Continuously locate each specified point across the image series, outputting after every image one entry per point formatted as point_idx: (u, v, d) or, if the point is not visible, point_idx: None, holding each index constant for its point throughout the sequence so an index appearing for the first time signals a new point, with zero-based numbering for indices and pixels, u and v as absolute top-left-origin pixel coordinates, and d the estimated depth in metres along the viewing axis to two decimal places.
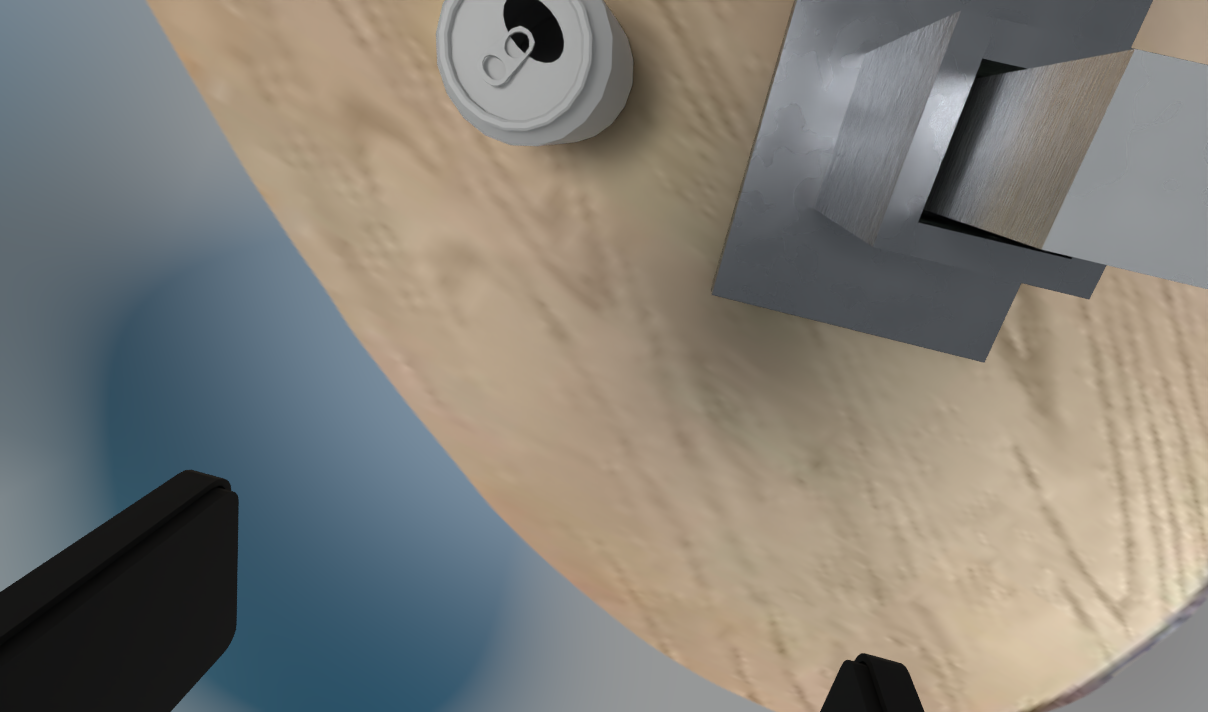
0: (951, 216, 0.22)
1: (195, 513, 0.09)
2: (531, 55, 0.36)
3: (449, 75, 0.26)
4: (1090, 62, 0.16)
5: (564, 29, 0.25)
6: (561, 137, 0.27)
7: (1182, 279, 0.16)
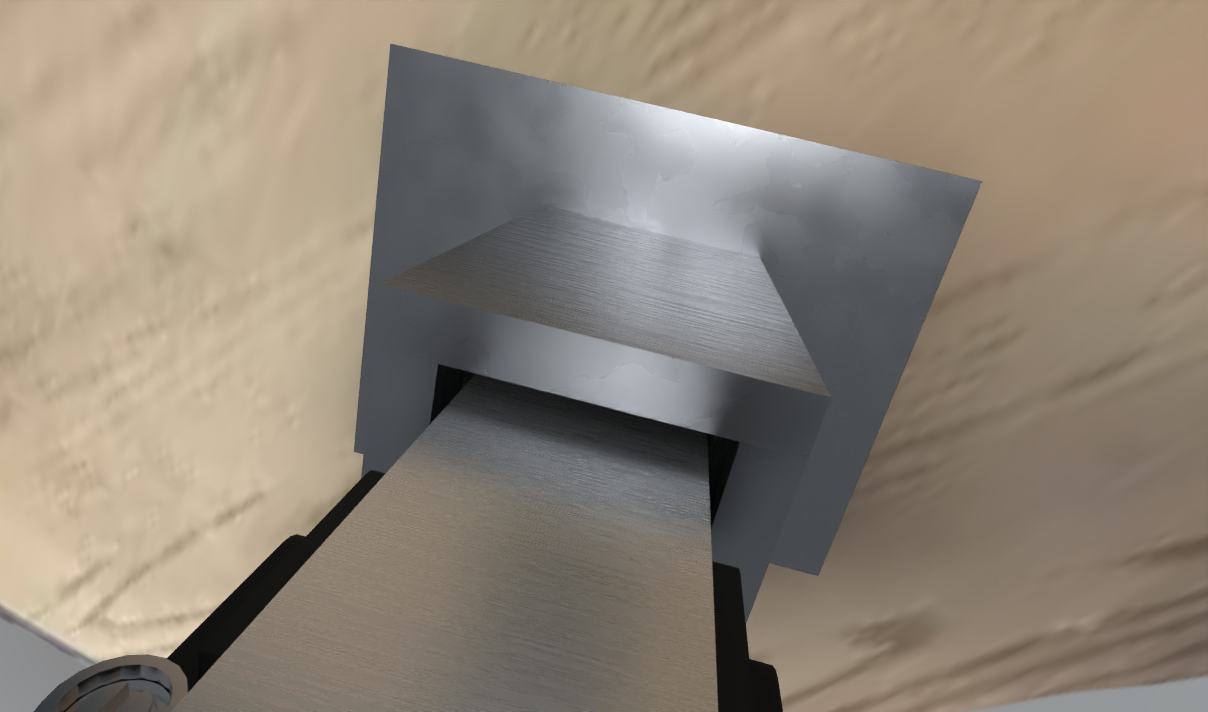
0: (430, 428, 0.10)
1: None
2: None
3: None
4: None
5: None
6: None
7: None
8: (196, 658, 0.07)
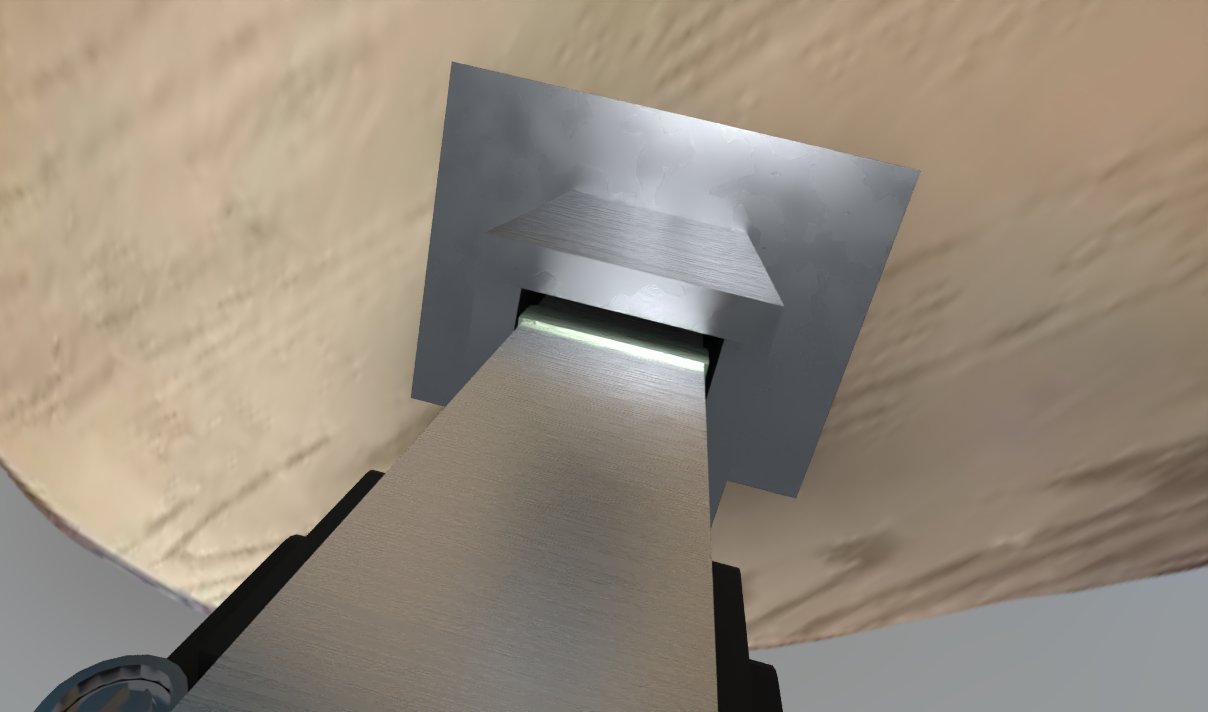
0: (430, 428, 0.10)
1: None
2: None
3: None
4: None
5: None
6: None
7: None
8: (196, 658, 0.07)
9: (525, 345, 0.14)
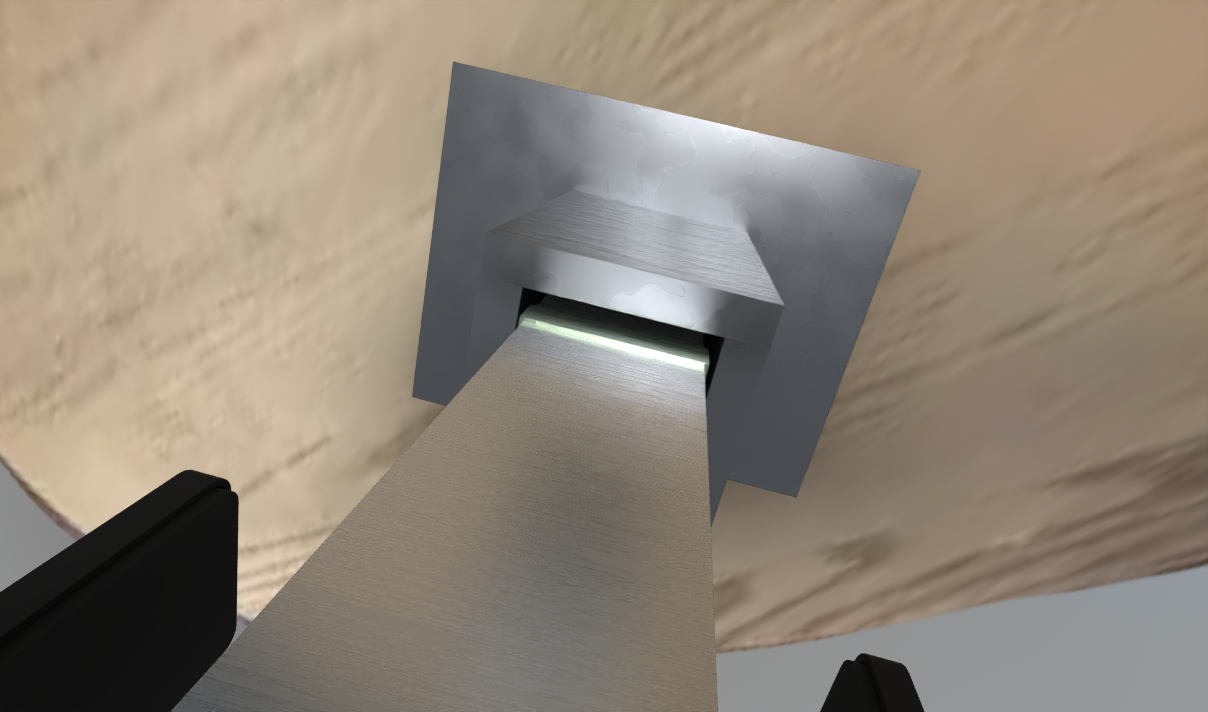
0: (431, 427, 0.10)
1: (195, 513, 0.09)
2: None
3: None
4: None
5: None
6: None
7: None
8: None
9: (526, 345, 0.14)
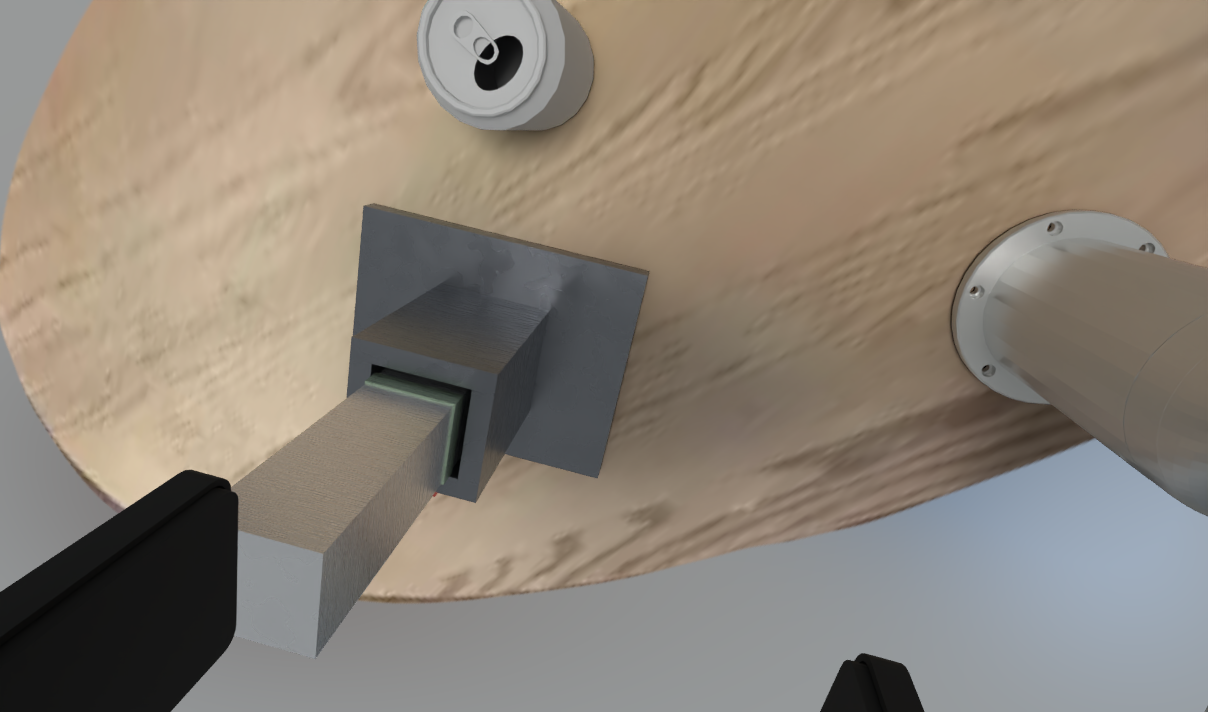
0: (298, 436, 0.27)
1: (195, 513, 0.09)
2: None
3: None
4: (344, 524, 0.23)
5: (498, 90, 0.31)
6: (426, 84, 0.32)
7: None
8: None
9: (360, 397, 0.31)
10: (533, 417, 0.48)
